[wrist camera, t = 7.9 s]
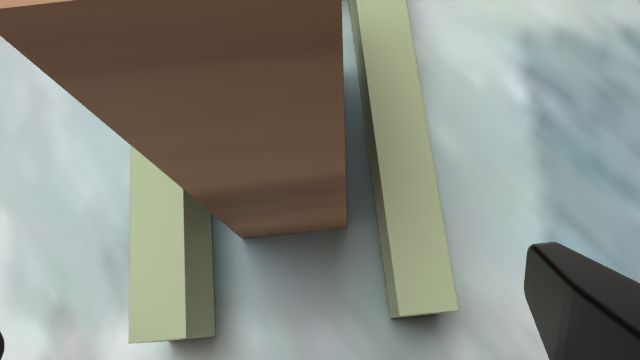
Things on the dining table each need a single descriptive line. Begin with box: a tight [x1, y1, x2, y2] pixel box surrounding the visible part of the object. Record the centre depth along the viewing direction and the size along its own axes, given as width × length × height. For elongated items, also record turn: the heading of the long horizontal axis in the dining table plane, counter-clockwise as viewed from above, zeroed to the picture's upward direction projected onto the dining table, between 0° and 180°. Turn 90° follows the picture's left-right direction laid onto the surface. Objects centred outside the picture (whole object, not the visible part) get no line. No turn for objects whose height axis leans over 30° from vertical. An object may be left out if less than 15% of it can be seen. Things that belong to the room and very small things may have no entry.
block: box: [129, 0, 458, 344], centre depth 16 cm, size 14×8×3 cm, turn 6°
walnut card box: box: [0, 0, 347, 238], centre depth 12 cm, size 6×4×12 cm, turn 5°
